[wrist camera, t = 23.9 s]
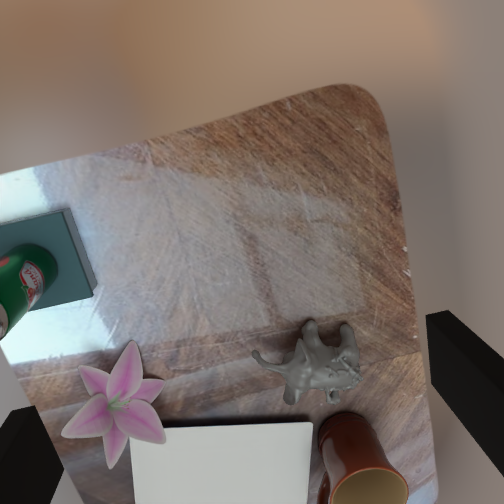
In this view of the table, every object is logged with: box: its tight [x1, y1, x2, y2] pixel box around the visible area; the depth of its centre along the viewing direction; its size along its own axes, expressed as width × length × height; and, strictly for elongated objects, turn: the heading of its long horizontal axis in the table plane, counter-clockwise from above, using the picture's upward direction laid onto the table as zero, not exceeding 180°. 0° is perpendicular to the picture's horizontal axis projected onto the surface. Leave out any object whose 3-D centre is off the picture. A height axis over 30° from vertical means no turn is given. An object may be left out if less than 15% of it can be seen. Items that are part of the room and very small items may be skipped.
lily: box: [61, 340, 166, 469], centre depth 48 cm, size 12×12×10 cm
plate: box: [129, 422, 313, 504], centre depth 57 cm, size 22×22×2 cm
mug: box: [317, 413, 409, 504], centre depth 52 cm, size 12×9×10 cm
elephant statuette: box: [252, 320, 363, 405], centre depth 48 cm, size 9×12×8 cm
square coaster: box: [0, 208, 97, 312], centre depth 44 cm, size 9×9×3 cm
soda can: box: [0, 245, 57, 340], centre depth 37 cm, size 5×5×12 cm
